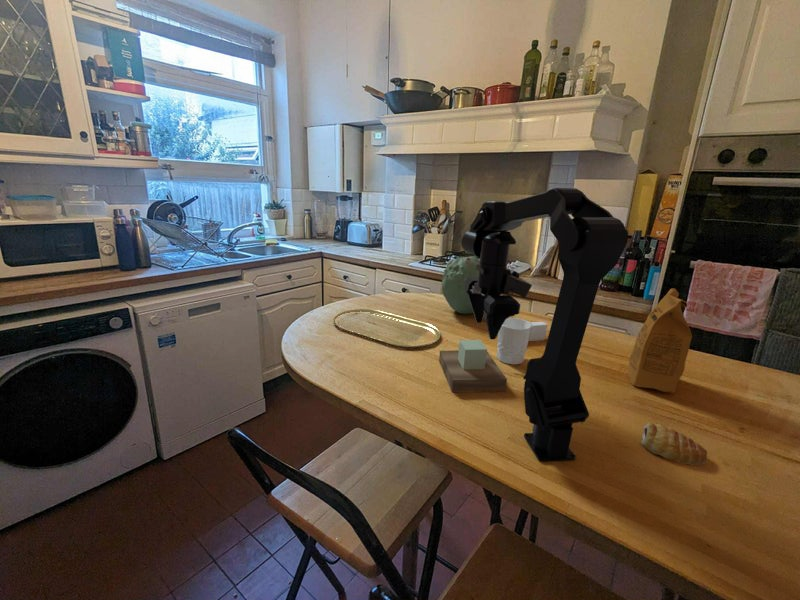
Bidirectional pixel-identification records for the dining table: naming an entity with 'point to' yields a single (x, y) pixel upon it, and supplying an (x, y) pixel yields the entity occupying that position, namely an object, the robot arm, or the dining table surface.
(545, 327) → the napkin holder
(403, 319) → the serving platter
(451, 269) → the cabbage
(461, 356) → the sage cube
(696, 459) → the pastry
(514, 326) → the white cup
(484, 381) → the walnut block
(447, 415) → the dining table surface
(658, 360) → the coffee package
